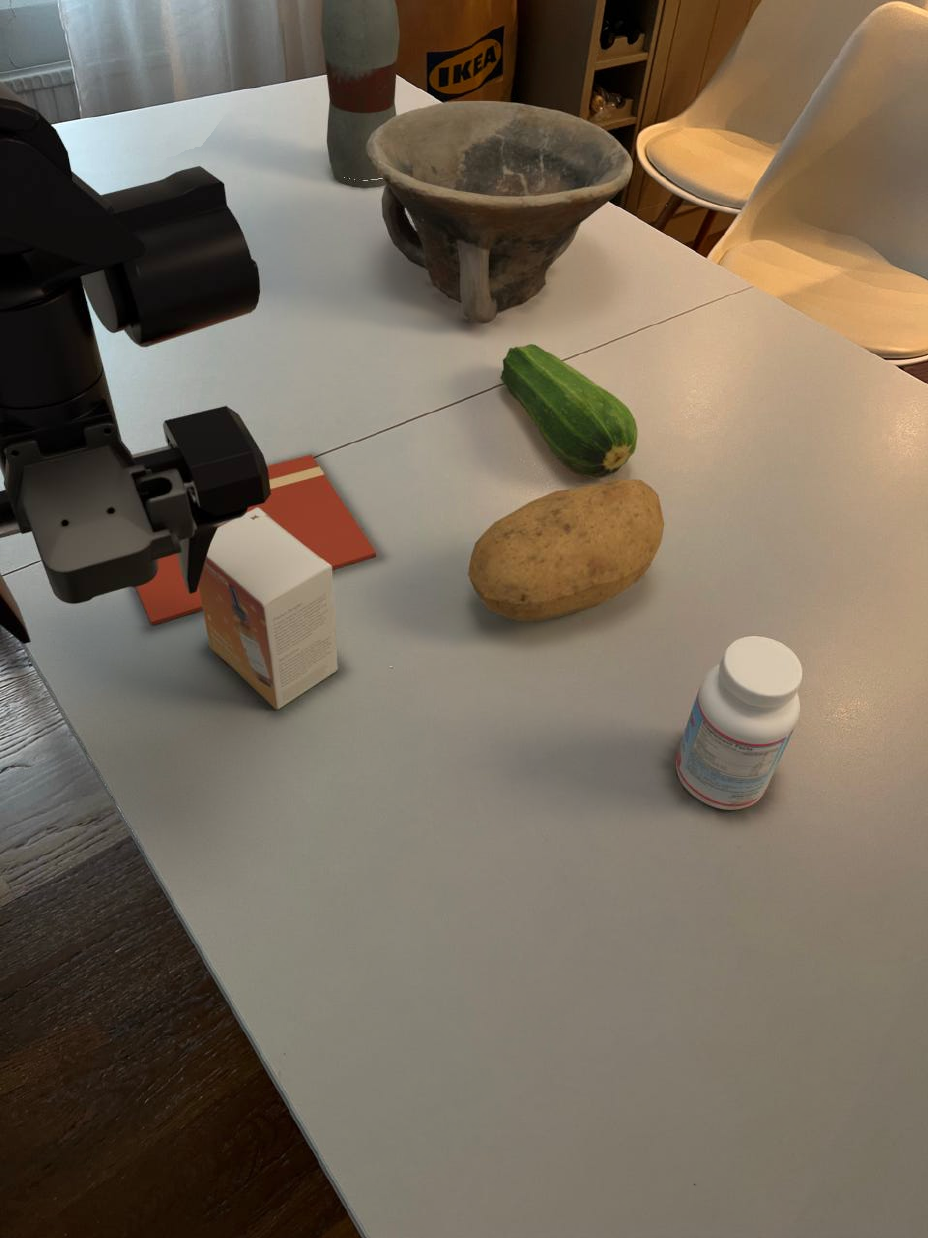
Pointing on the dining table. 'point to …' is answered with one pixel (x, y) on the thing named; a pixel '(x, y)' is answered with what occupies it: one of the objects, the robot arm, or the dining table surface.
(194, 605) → the tea towel
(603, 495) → the potato
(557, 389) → the vegetable
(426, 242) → the bowl
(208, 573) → the small box
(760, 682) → the pill bottle
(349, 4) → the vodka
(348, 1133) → the dining table surface
